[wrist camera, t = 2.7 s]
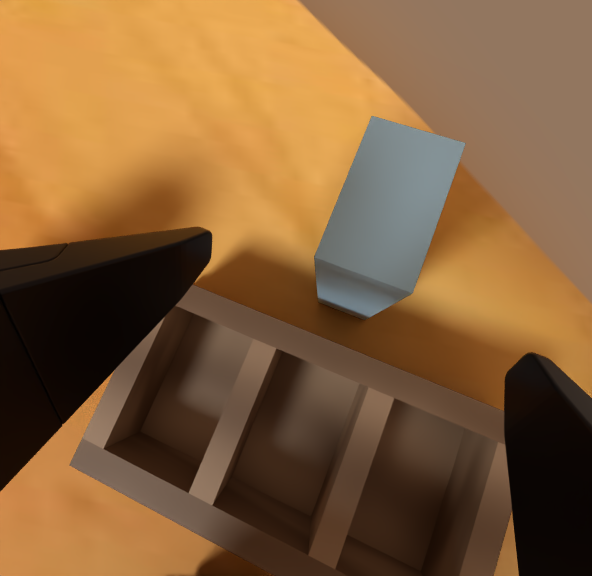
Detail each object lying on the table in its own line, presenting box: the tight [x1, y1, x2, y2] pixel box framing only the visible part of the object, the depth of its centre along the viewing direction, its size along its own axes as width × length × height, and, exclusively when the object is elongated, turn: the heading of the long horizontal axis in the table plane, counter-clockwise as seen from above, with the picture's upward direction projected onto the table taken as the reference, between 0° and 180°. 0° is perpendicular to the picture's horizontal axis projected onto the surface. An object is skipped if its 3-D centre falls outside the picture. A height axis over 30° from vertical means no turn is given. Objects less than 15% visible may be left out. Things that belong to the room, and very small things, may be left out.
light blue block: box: [314, 116, 466, 320], centre depth 14 cm, size 5×3×10 cm, turn 158°
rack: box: [70, 285, 512, 576], centre depth 16 cm, size 10×19×4 cm, turn 68°
